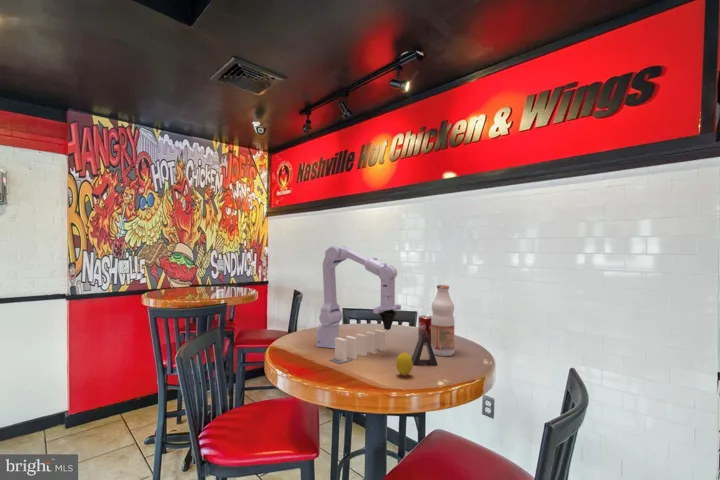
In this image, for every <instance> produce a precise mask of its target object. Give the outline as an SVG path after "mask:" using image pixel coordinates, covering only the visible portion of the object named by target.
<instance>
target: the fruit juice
mask: <svg viewBox="0 0 720 480" xmlns="http://www.w3.org/2000/svg"><path fill="white" fill-rule="evenodd" d="M436 289H437V292H436V295H435V297H434V300H433V302H431V303H432V304H431V311H432V315H431V316H432V318H431V347H432V350H433V353H434V355H436V356H438V357H439V356H440V357H451V356H453V355H454V354H455V316H454V311H455V305H454V302H453V301H452V299H451V296H450V292H449V290H450V285H449V284H448V285H447V284H438V285H436Z"/></svg>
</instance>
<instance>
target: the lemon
mask: <svg viewBox="0 0 720 480" xmlns="http://www.w3.org/2000/svg"><path fill="white" fill-rule="evenodd" d="M411 356H412V355H411ZM411 356H410V354H409V353H407V352H405V351H404V352H403V351H402V353H400V354H398V356H397V358H396V361H395V362H396V365H395V366H396V370H397V371H398V372H399V374H401V375H402V376H403V377H405V376H407V375H409V374H410V373H411V372H412V370H413V366H414V365H413V362H412V357H411Z"/></svg>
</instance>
